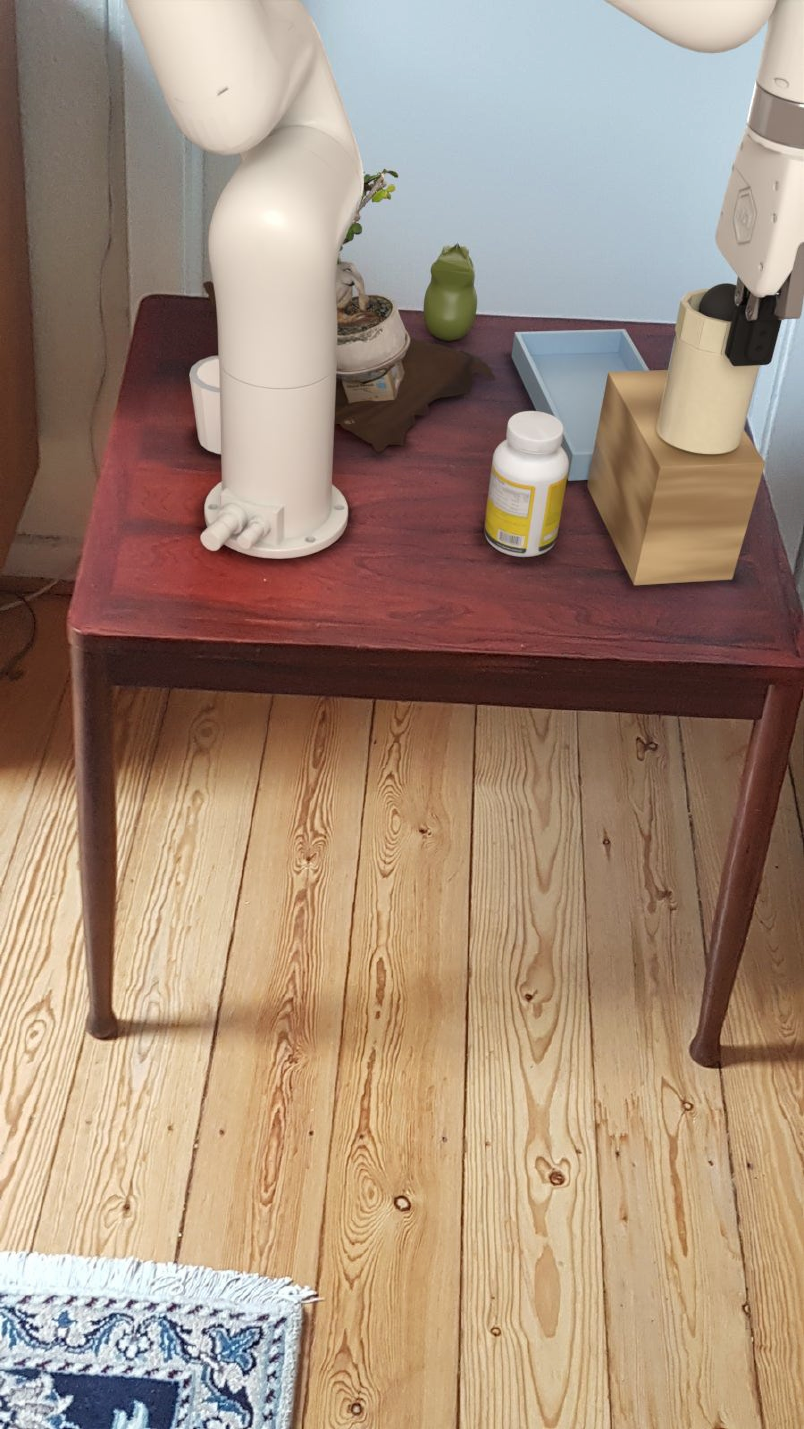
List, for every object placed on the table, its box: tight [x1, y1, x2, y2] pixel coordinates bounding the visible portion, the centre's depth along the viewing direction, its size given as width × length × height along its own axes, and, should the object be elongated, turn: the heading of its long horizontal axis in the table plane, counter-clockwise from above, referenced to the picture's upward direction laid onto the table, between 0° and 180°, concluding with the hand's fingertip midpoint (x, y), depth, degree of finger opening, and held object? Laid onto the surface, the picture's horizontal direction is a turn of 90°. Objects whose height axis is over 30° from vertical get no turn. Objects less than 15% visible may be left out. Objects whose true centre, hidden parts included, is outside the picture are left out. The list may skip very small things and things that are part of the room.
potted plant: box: [202, 168, 496, 452], centre depth 138 cm, size 20×19×25 cm
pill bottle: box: [483, 410, 569, 558], centre depth 123 cm, size 6×6×12 cm
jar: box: [656, 288, 761, 454], centre depth 115 cm, size 7×7×11 cm
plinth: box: [586, 369, 766, 586], centre depth 125 cm, size 15×9×12 cm, turn 10°
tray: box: [510, 328, 650, 482], centre depth 142 cm, size 23×12×3 cm, turn 10°
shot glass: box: [188, 355, 221, 455], centre depth 133 cm, size 7×7×7 cm
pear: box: [422, 242, 478, 342], centre depth 149 cm, size 6×5×10 cm
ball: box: [699, 282, 741, 322], centre depth 112 cm, size 4×4×4 cm
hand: (747, 360), depth 109 cm, fingers closed
